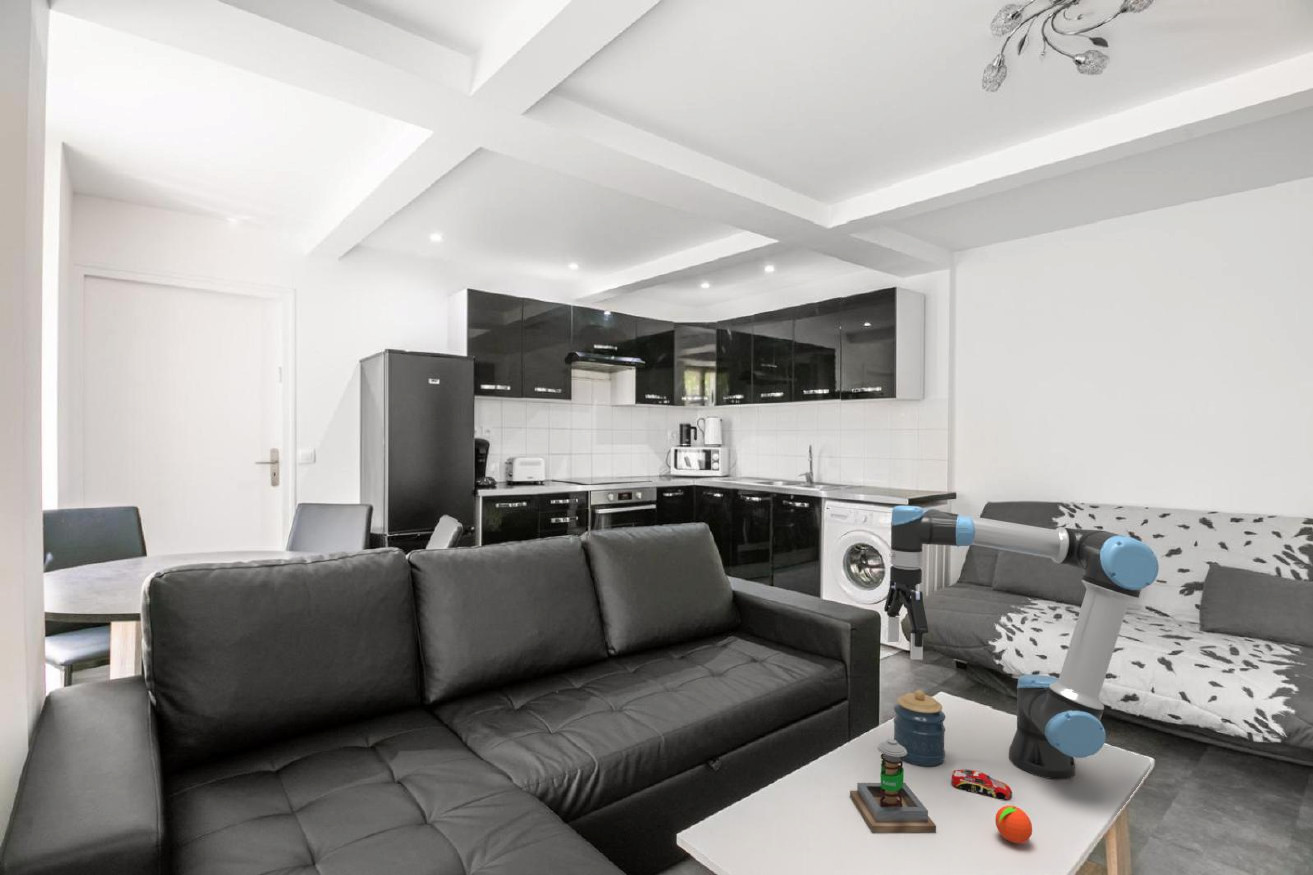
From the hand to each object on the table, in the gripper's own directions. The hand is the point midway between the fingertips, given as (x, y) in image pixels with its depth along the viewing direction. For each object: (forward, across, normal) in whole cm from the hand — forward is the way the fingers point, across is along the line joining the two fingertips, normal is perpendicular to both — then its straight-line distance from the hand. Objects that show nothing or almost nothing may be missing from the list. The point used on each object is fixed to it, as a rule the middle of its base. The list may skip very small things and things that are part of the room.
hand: (904, 650), depth 163 cm
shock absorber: (+30, +17, -10) cm, 36 cm away
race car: (+32, +7, +17) cm, 37 cm away
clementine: (+32, +27, +12) cm, 43 cm away
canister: (+32, -10, +9) cm, 35 cm away
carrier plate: (+32, +17, -10) cm, 37 cm away
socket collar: (+30, +17, -10) cm, 36 cm away
